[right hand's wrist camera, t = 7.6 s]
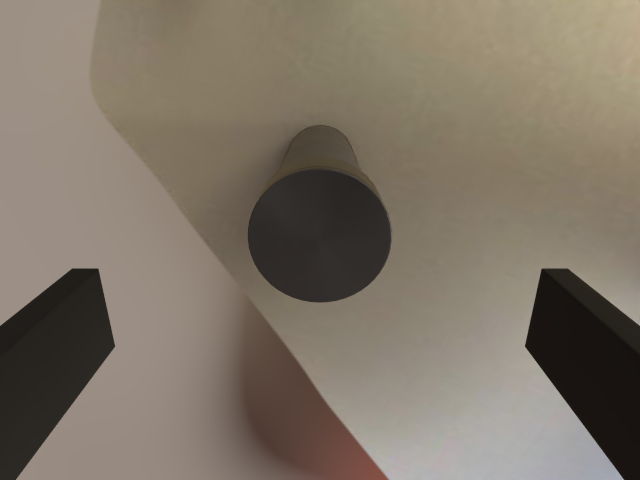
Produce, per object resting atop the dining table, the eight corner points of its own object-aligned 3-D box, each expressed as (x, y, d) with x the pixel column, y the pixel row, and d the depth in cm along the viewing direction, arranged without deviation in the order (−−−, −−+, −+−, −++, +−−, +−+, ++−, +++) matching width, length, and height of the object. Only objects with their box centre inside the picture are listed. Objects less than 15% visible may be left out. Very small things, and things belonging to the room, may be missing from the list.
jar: (297, 197, 33) (278, 301, 18) (279, 134, 31) (241, 192, 16) (359, 182, 32) (392, 275, 17) (345, 117, 30) (367, 160, 16)
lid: (277, 288, 20) (271, 315, 18) (239, 174, 18) (227, 189, 16) (394, 261, 19) (403, 285, 17) (368, 141, 17) (375, 151, 15)
